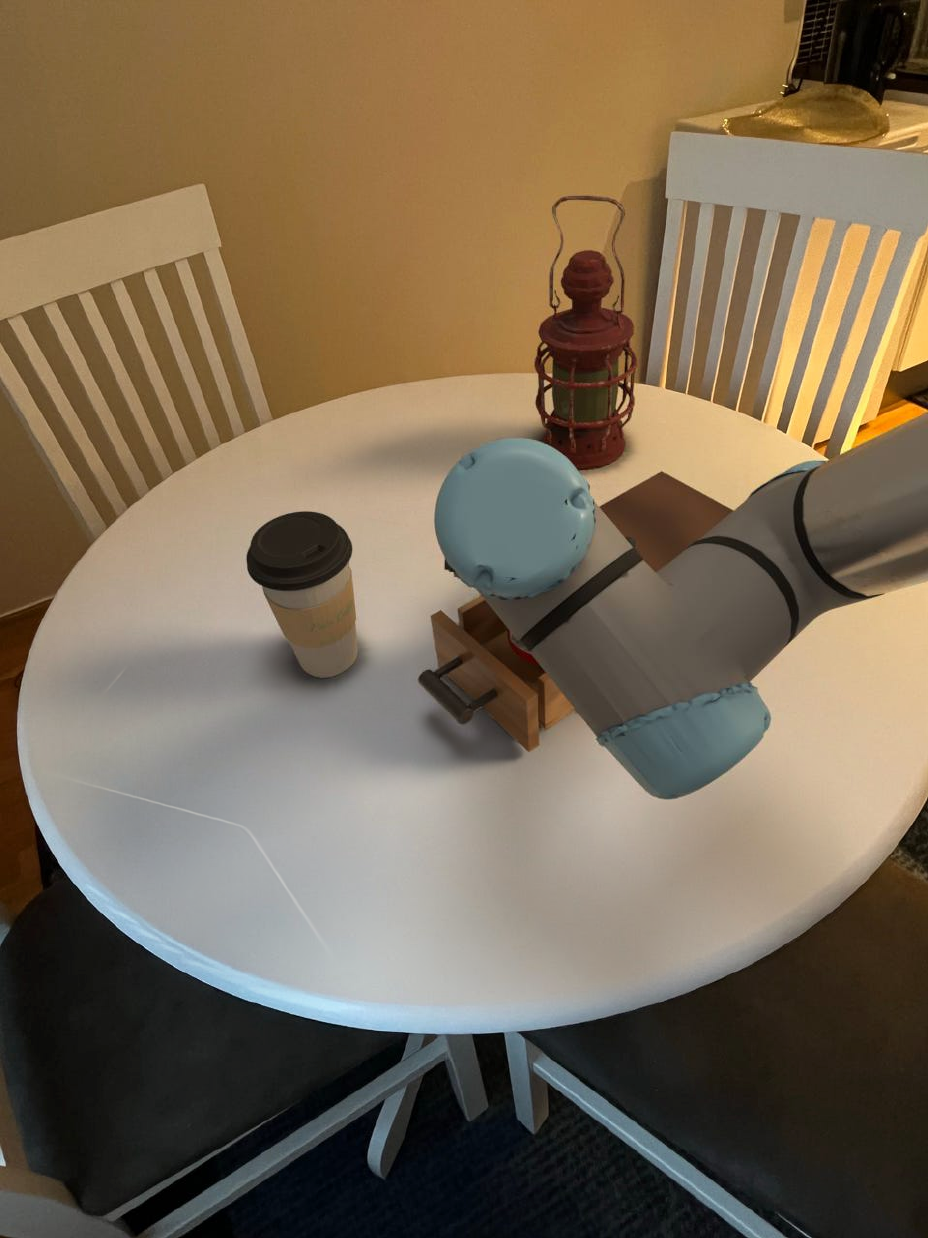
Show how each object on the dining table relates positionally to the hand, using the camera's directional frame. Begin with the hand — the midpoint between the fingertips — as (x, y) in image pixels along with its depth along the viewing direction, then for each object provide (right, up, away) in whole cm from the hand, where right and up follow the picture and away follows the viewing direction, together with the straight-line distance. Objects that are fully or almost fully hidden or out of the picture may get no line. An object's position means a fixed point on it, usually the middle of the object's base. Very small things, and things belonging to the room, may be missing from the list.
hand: (550, 571), depth 75 cm
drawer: (-2, -10, +2) cm, 10 cm away
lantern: (+8, +18, +31) cm, 37 cm away
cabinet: (+11, -3, +10) cm, 15 cm away
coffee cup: (-21, -8, +8) cm, 24 cm away
